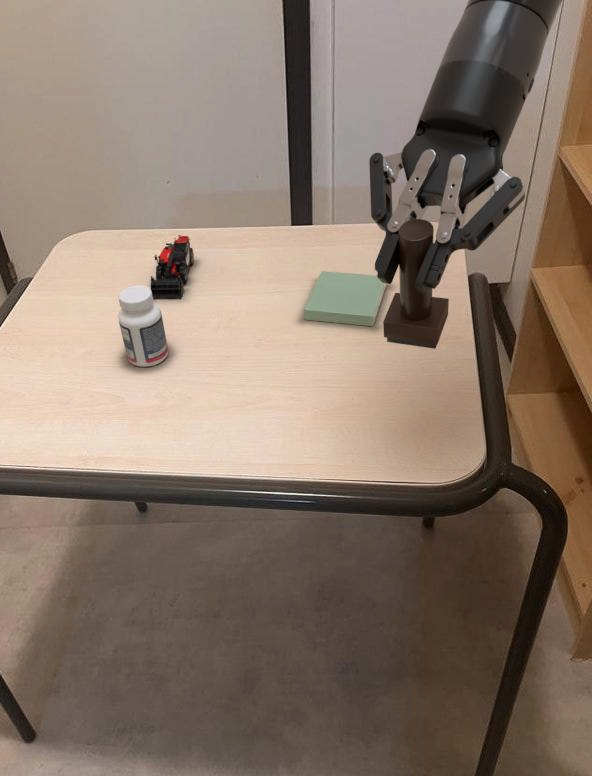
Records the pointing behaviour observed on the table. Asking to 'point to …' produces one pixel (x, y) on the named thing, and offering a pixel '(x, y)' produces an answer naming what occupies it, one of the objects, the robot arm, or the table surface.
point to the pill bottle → (142, 327)
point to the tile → (345, 298)
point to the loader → (172, 268)
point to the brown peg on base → (414, 293)
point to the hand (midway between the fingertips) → (402, 284)
